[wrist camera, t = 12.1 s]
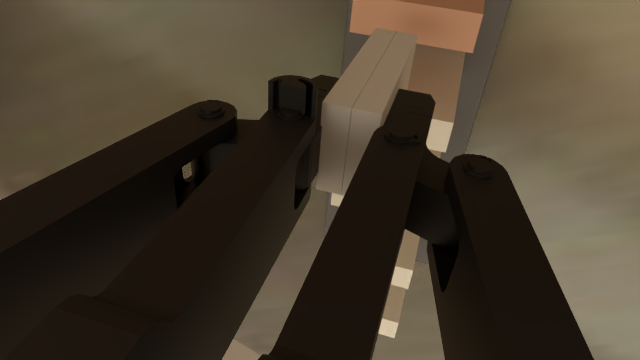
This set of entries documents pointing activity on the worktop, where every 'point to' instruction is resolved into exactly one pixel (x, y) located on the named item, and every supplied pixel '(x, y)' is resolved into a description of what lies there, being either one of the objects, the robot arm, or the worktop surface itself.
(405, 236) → the domino
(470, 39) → the domino
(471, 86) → the mat
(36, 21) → the worktop surface
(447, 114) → the domino
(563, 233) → the worktop surface
